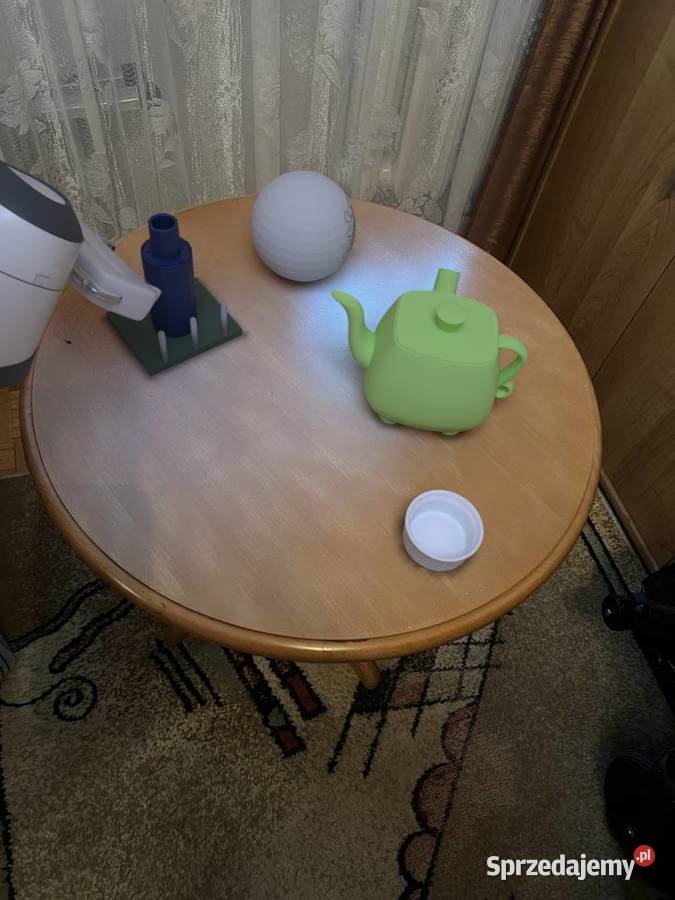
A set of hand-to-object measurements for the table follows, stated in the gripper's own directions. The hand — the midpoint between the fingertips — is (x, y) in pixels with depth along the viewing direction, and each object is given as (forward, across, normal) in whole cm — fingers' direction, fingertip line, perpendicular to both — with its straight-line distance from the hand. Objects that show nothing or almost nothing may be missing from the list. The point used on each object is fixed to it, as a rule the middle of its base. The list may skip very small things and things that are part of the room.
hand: (131, 271), depth 78 cm
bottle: (+11, -1, +4) cm, 12 cm away
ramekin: (+14, -46, +2) cm, 48 cm away
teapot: (+26, -27, -9) cm, 38 cm away
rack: (+12, 0, +5) cm, 13 cm away
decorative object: (+27, -2, -10) cm, 29 cm away
